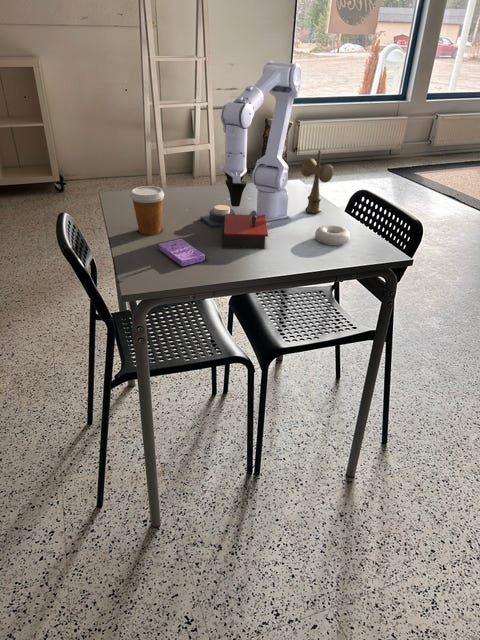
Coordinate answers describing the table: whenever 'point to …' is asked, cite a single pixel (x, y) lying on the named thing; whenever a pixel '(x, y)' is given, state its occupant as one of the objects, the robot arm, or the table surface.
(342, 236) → the donut
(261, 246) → the black shallow box
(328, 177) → the kendama
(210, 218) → the switch block
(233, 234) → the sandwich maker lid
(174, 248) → the sponge
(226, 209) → the power button
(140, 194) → the disposable coffee cup
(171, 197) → the table surface
